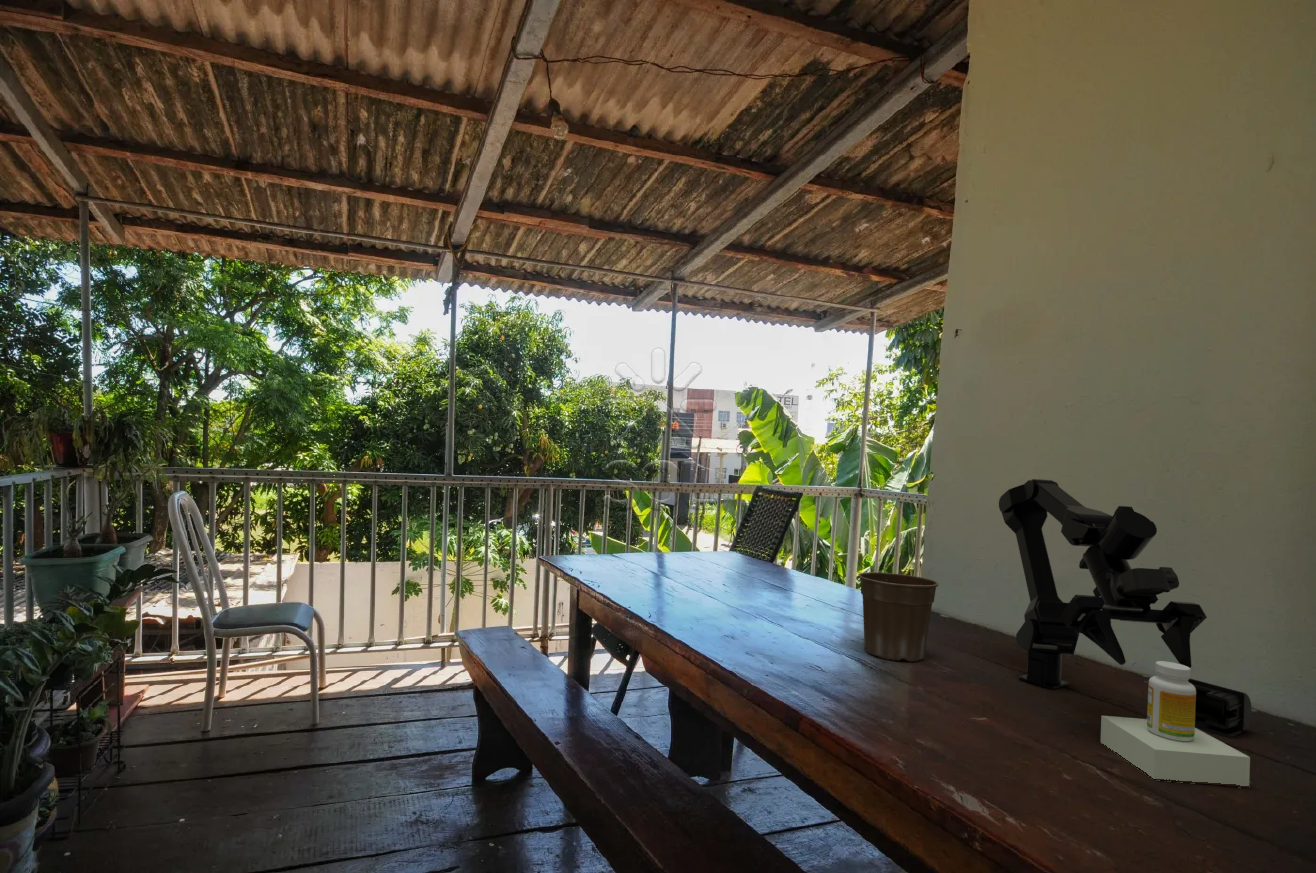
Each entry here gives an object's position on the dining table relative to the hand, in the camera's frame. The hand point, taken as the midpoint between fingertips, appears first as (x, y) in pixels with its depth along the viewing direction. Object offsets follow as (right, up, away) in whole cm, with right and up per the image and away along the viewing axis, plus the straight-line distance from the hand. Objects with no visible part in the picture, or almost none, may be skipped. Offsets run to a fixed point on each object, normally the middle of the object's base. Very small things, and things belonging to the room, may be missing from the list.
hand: (1155, 665), depth 100 cm
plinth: (-1, -12, -4) cm, 13 cm away
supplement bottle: (-1, -9, -4) cm, 9 cm away
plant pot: (-23, -13, +45) cm, 52 cm away
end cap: (+18, -14, +13) cm, 26 cm away
